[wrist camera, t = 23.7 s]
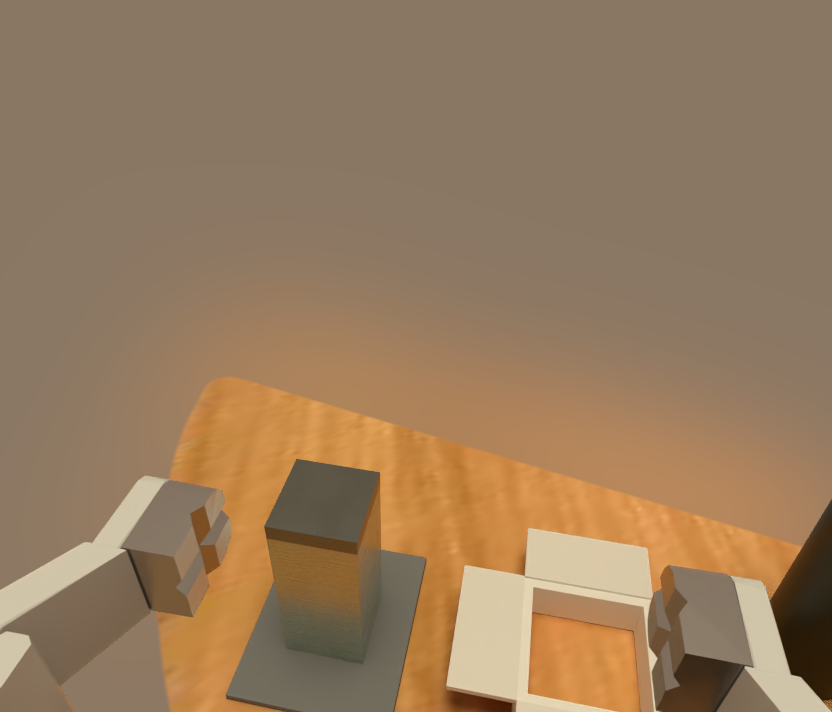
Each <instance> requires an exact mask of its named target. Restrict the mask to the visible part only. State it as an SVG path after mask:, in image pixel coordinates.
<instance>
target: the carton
mask: <svg viewBox="0 0 832 712" xmlns="http://www.w3.org/2000/svg"><path fill="white" fill-rule="evenodd" d="M652 597H653V594H652V585H651V576H650V568H649V559H648V550H647V548H645V547H639V546H633V545H627V544H621V543H616V542H610V541H604V540H598V539H592V538H586V537H580V536H574V535H568V534H562V533H556V532H550V531H544V530H538V529H532V528H528V531H527V545H526V560H525V575H518V574H512V573H507V572H501V571H496V570H490V569H484V568H479V567H473V566H467V565H465V568H464V574H463V581H462V587H461V594H460V600H459V607H458V613H457V620H456V626H455V632H454V639H453V645H452V652H451V658H450V665H449V671H448V677H447V684H446V689H447V690H452V691H457V692H462V693H466V694H471V695H476V696H481V697H486V698H491V699H495V700H500V701H505V702H510V703H512V712H616V711H611V710H606V709H601V708H596V707H591V706H586V705H581V704H576V703H572V702H567V701H562V700H557V699H552V698H547V697H542V696H537V695H532V694H528V677H529V658H530V640H531V621H532V612H534V613H540V614H545V615H550V616H556V617H561V618H567V619H572V620H577V621H583V622H588V623H593V624H599V625H604V626H610V627H615V628H620V629H626V630H631V631H634V640H635V652H636V664H637V675H638V687H639V699H640V711H641V712H660V711H656V708H655V699H654V690H653V681H652V669H653V667H654V665H655V663H656V661H657V657H656V656H655V654H654V653H653V652H652V650H651V649H650V648H649V643H648V613H649V606H650V602H651V600H652Z"/></svg>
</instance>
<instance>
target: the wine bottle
mask: <svg viewBox="0 0 832 712" xmlns="http://www.w3.org/2000/svg"><path fill="white" fill-rule="evenodd" d="M770 604H771V607H772V611H773V614H774V618H775V621H776V625H777V628H778V631H779V635H780V638H781V642H782V645H783V649H784V652H785V656H786V659H787V663H788V666H789V670H790V673H791V675H794V676H798V677H801V678H802V679H803V680H804V681H805V682H806V684H807V685H808V686H809V687H810V688H811V689H812V690H813V691H814V693H815V694H816V695H817V696H818V697H819V698H820V699H832V500H831V501H830V503H829V505H828V506H827V508H826V509H825V511H824V513H823V514H822V516H821V518H820V519H819V521H818V523H817V524H816V526H815V528H814V529H813V531H812V533H811V534H810V536H809V538H808V539H807V541H806V543H805V544H804V546H803V547H802V549H801V551H800V552H799V554H798V556H797V557H796V559H795V561H794V562H793V564H792V565H791V567H790V569H789V570H788V572H787V574H786V575H785V577H784V579H783V580H782V582H781V584H780V585H779V587H778V589H777V590H776V592H775V593H774V595H773V597H772V598H771V600H770Z"/></svg>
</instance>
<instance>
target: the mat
mask: <svg viewBox="0 0 832 712" xmlns="http://www.w3.org/2000/svg"><path fill="white" fill-rule="evenodd" d="M425 564H426V558H424V557H418V556H413V555H407V554H401V553H396V552H390V551H385V550H381V584H382V595H381V599H380V602H379V606H378V610H377V614H376V617H375V621H374V625H373V629H372V632H371V636H370V640H369V644H368V647H367V651H366V655H365V658H364V662H363V664H359V663H354V662H349V661H344V660H339V659H335V658H330V657H325V656H320V655H315V654H310V653H305V652H300V651H296V650H291V649H287V648H286V643H285V637H284V632H283V626H282V621H281V615H280V610H279V604H278V599H277V593H276V588H275V582H274V583H273V585H272V588H271V590H270V592H269V595H268V597H267V599H266V602H265V604H264V606H263V609H262V611H261V614H260V616H259V618H258V621H257V623H256V625H255V628H254V630H253V632H252V635H251V637H250V639H249V642H248V644H247V646H246V649H245V651H244V654H243V656H242V658H241V661H240V663H239V665H238V668H237V670H236V672H235V675H234V677H233V679H232V682H231V684H230V686H229V689H228V691H227V693H226V697H227V698H228V699H232V700H237V701H242V702H246V703H251V704H255V705H260V706H264V707H269V708H274V709H278V710H283V711H287V712H394V709H395V704H396V699H397V695H398V690H399V685H400V681H401V676H402V671H403V666H404V662H405V657H406V652H407V648H408V643H409V638H410V634H411V629H412V624H413V620H414V615H415V610H416V606H417V601H418V596H419V592H420V587H421V582H422V578H423V573H424V568H425Z"/></svg>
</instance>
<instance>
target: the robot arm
mask: <svg viewBox="0 0 832 712" xmlns="http://www.w3.org/2000/svg"><path fill="white" fill-rule="evenodd" d="M225 502H226V501H225V498H224V494H223V491H222V490H219V489H213V488H208V487H203V486H198V485H193V484H188V483H183V482H178V481H173V480H168V479H162V478H156V477H151V476H144V477H143V478H141V479H140V480H138V481H137V482H136V484H135V485H134V486H133V488H132V489H131V491H130V492H129V493H128V495H127V496H126V497H125V499H124V500H123V501H122V503H121V504H120V506H119V507H118V508H117V510H116V511H115V512H114V514H113V515H112V516H111V518H110V519H109V521H108V522H107V523H106V525H105V526H104V527H103V529H102V530H101V532H100V533H99V534H98V536H97V537H96V539H95V540H94V541H93V543H88V542H84V543H82V544H81V545H79V546H77V547H75V548H73V549H72V550H70V551H68V552H66V553H65V554H63V555H61V556H60V557H58V558H56V559H54V560H52V561H51V562H49V563H47V564H46V565H44V566H42V567H40V568H38V569H37V570H35V571H33V572H31V573H30V574H28V575H26V576H24V577H23V578H21V579H19V580H17V581H15V582H14V583H12V584H10V585H8V586H7V587H5V588H3V589H2V590H0V712H73V708H72V705H71V703H70V702H69V700H68V699H67V697H66V695H65V694H64V692H63V690H62V689H61V687H60V686H61V685H62V684H63V683H64V682H65V681H67V680H68V679H69V678H71V677H72V676H73V675H74V674H76V673H77V672H78V671H79V670H80V669H82V668H83V667H84V666H85V665H87V664H88V663H89V662H90V661H92V660H93V659H94V658H95V657H97V656H98V655H99V654H100V653H102V652H103V651H104V650H105V649H106V648H108V647H109V646H110V645H111V644H113V643H114V642H115V641H116V640H118V639H119V638H120V637H121V636H122V635H124V634H125V633H126V632H128V631H129V630H130V629H131V628H132V627H134V626H135V625H136V624H137V623H139V622H140V621H141V620H142V619H144V618H145V617H146V616H147V615H148V614H150V610H152V611H158V612H164V613H170V614H176V615H182V616H187V617H194V615H195V613H196V611H197V610H198V608H199V606H200V604H201V602H202V600H203V598H204V596H205V594H206V592H207V590H208V588H209V581H208V577H207V574H209V573H210V572H212V571H213V570H215V569H216V568H218V567H219V566H220V565H221V563H222V561H223V559H224V557H225V555H226V553H227V549H228V545H229V542H230V538H231V524H230V519H229V517H228V516H227V515H226V514H225V513H224V512H223V511H222V508H223V506H224V504H225ZM660 578H661V586H662V589H661V590H659V591H657V592H654V594H653V597H652V600H651V602H650V606H649V613H648V643H649V648H650V649H651V650H652V652H653V653H654V654H655V656H656V657H657V661H656V663H655V665H654V667H653V669H652V681H653V690H654V699H655V708H656V711H660V712H831V711H830V709H829V708H828V707H827V706H826V705H825V704H824V703H823V702H822V700H821V699H820V698H819V697H818V696H817V695H816V694H815V693H814V691H813V690H812V689H811V688H810V687H809V686H808V685H807V684H806V682H805V681H804V680H803V679H802V678H801V677H798V676H794V675H791V673H790V670H789V666H788V663H787V659H786V656H785V652H784V649H783V645H782V642H781V638H780V635H779V631H778V628H777V625H776V621H775V618H774V614H773V611H772V607H771V604H770V600H769V597H768V593H767V590H766V587H765V586H764V584H763V583H762V582H761V581H759V580H754V579H747V578H741V577H735V576H728V575H727V574H722V573H715V572H709V571H702V570H696V569H690V568H683V567H677V566H670V565H668V566H667V567H666V568H664V570H663V573H662V575H661V577H660Z"/></svg>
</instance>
